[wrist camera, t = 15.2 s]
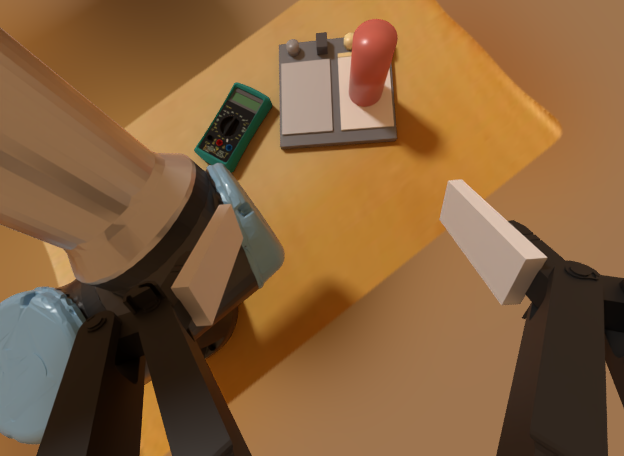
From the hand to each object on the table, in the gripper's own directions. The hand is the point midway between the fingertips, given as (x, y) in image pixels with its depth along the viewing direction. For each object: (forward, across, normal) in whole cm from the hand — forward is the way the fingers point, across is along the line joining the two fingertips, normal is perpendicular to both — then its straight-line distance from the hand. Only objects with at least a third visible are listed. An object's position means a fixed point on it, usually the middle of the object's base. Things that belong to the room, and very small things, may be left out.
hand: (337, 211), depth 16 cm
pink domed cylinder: (+33, +7, +1) cm, 34 cm away
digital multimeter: (+33, -15, -2) cm, 36 cm away
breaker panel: (+35, +2, +1) cm, 35 cm away
